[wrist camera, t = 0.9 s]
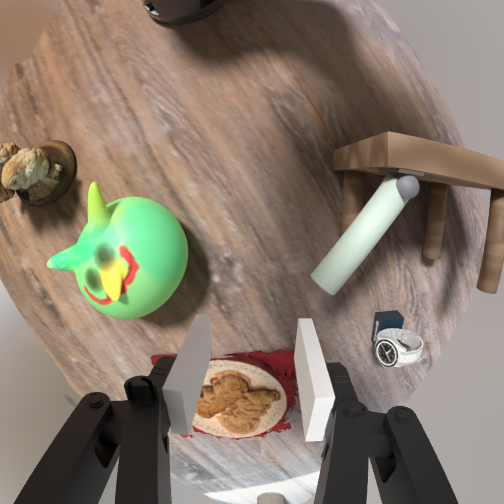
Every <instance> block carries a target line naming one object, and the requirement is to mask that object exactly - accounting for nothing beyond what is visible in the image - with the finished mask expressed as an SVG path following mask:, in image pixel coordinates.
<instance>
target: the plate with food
mask: <svg viewBox="0 0 504 504" xmlns="http://www.w3.org/2000/svg"><path fill="white" fill-rule="evenodd" d="M294 353H295V351H282V350H280V349H279V350H278V351H276V352H273V353H263V352H262V351H261V350H260V351H256V352H255V351H254V352H250V353H234V354H226V353H223V354H222V353H220V354H219V355H232V356H234V357H229V358H221V359H219V358H215V359H210V362H209V366H208V369H207V373H206V376H205V380H204V384H203V387H202V391H201V394H200V398H199V401H198V405H197V408H196V412H195V416H194V419H193V423H192V426H193V429H194V431H195V432H201V433H204V434H211V435H212V436H213V435H214V436H215V437H216V436H217V438H221V436H224V437H229V438H230V439H232V438H233V439H236V440H239V439H241V438H243V437H244V438H251V437H252V436H254V437H256V436H260V437H266V436H263V435H266V434H267V433H270V432H271V431H276V432H278V433H280V432H279V431H278V430H283V429H285V430H286V429H291V426H290V423H289V422H288V423H287V424H283V423H284V422H285V421H286V420H285V415H286V412H287V411H288V409H289V406H290V407H293V405H295V398H294V395H296V394H295V392H294V391H293V390H296V391H297V390H298V389H297V388H296V387H295V386H294V381H293V380H296V379H297V376H296V369H295V362H294ZM164 355H165V354H161V355H153V356H152V357H151V358H150V359H151V360H152V364H153V365H155V363H156V361H157V360H158V359H160V358H161V357H162V356H164ZM165 356H173V357H177V355H175V354H174V355H173V354H170V355H169V354H168V355H167V354H166V355H165ZM285 372H286V373H287V374H288V376H287V377H288V378H287V377H286V376H285ZM290 377H291V379H292V380H291V379H289V378H290ZM297 397H298V395H297ZM290 404H291V405H292V406H291V405H290ZM292 410H293V408H292V409H291V411H292ZM287 419H289V418H287ZM280 424H282V425H280ZM276 425H278V426H276ZM273 427H274V428H273ZM272 428H273V429H272ZM271 429H272V430H271ZM268 430H271V431H269V432H267V431H268ZM281 432H282V431H281ZM191 433H192V432H191ZM260 434H261V435H260ZM180 435H181V434H180ZM192 435H193V434H192ZM192 435H189V436H190V437H191V438H192ZM181 436H182V437H184V438H185V437H189V436H188V435H181ZM218 436H219V437H218ZM279 436H280V435H279ZM194 437H195V436H194Z"/></svg>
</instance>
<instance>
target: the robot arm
mask: <svg viewBox="0 0 504 504" xmlns="http://www.w3.org/2000/svg"><path fill="white" fill-rule="evenodd" d="M225 1H226V0H142V3H143V6H144V8H145V9H146V11H147V12H148V13H149V15H150V16H151V17H152V18H154V19H155V20H157V21H159V22H163V23H167V24H182V23H188V22H192V21H196V20H199V19H201V18H203V17H206V16H208V15H209V14H211V13H213V12H214V11H216V10H217V9H218V8H219V7H220V6H222V4H223V3H224V2H225ZM211 355H212V350H211V326H210V315H206V314H197V315H196V317H195V319H194V321H193V323H192V325H191V327H190V330H189V332H188V334H187V336H186V338H185V340H184V342H183V345H182V347H181V349H180V351H179V353H178V355H177V357H173V356H165V355H164V356H162V357H161V358H160V359H158V360H157V361H156V363H155V365H154V367H153V369H152V370H151V373H150V374H149V376H135V377H132V378H130V379H128V380H127V381H126V382H125V384H124V388H125V392H126V395H127V398H128V400H124V401H110V399H109V397H108V396H107V395H106V394H104V393H102V392H93V393H89V394H87V395H85V396H84V397H83V398H82V400H81V401H80V402H79V404H78V405H77V407H76V408H75V410H74V411H73V412H72V414H71V415H70V417H69V418H68V420H67V421H66V422H65V424H64V425H63V427H62V428H61V430H60V431H59V433H58V434H57V436H56V437H55V439H54V440H53V442H52V443H51V445H50V446H49V448H48V449H47V451H46V452H45V454H44V455H43V457H42V459H41V460H40V462H39V463H38V465H37V466H36V468H35V469H34V471H33V473H32V474H31V476H30V477H29V479H28V480H27V482H26V484H25V485H24V487H23V489H22V490H21V492H20V494H19V495H18V497H17V499H16V501H15V502H14V504H98V502H99V500H100V498H101V496H102V493H103V491H104V489H105V486H106V484H107V482H108V479H109V477H110V475H111V473H112V470H113V468H114V466H115V464H116V461H117V459H118V457H119V464H118V473H117V483H116V494H115V504H172V502H171V484H170V459H169V437H168V434H167V433H168V431H169V428H170V427H171V431H172V433H175V434H181V435H188V436H189V434H190V430H191V426H192V423H193V419H194V416H195V412H196V408H197V405H198V401H199V398H200V394H201V391H202V387H203V384H204V380H205V376H206V373H207V369H208V366H209V362H210V359H211ZM294 362H295V369H296V376H297V383H298V390H299V398H300V405H301V413H302V420H303V428H304V436H305V442H306V441H323V438H324V435H325V436H326V444H325V447H324V450H323V453H322V456H321V457H323V459H322V464H321V470H320V475H319V480H318V485H317V490H316V495H315V500H314V504H366V500H367V484H368V459H369V458H370V461H371V464H372V468H373V472H374V475H375V479H376V482H377V486H378V489H379V493H380V497H381V500H382V504H458V502H457V499H456V497H455V495H454V492H453V490H452V488H451V485H450V483H449V481H448V479H447V477H446V475H445V472H444V470H443V468H442V466H441V464H440V462H439V460H438V457H437V455H436V453H435V451H434V449H433V447H432V445H431V443H430V441H429V439H428V437H427V435H426V433H425V431H424V429H423V427H422V425H421V423H420V421H419V419H418V418H417V416H416V414H415V413H414V411H413V410H411V409H410V408H408V407H404V406H395V407H392V408H391V409H390V410H388V413H387V414H384V413H376V412H371V411H368V409H367V407H366V406H365V405H364V404H362V403H361V402H359V401H358V399H357V396H356V393H355V391H354V388H353V385H352V383H351V380H350V377H349V375H348V372H347V369H346V368H345V367H344V366H343V365H342V364H341V363H340V362H338V363H325V360H324V357H323V354H322V350H321V347H320V344H319V340H318V337H317V334H316V331H315V327H314V324H313V321H312V319H307V318H298V327H297V336H296V345H295V353H294ZM119 455H120V456H119Z"/></svg>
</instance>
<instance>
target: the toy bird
mask: <svg viewBox="0 0 504 504" xmlns="http://www.w3.org/2000/svg"><path fill="white" fill-rule="evenodd" d="M187 261H188V245H187V240H186V236H185V234H184V231H183V229H182V227H181V225H180V223H179V222H178V220H177V219H176V218H175V216H174V215H173V214H172V213H171V212H170V211H169V210H168V209H166V208H165V207H164V206H162V205H161V204H159V203H157V202H155V201H153V200H150V199H147V198H143V197H126V198H122V199H119V200H116V201H114V202H112V203H110V204H108V205H106V203H105V201H104V198H103V196H102V193H101V191H100V188H99V186H98V185H97V183H96V182H93V183H92V184H91V185H90V188H89V193H88V223H87V225H86V226H85V228H84V229H83V231H82V233H81V235H80V237H79V240H78V242H77V243H76V244H75V245H73V246H71V247H70V248H68V249H66V250H64V251H62V252H60V253H58V254H56V255H55V256H53V257H52V258H51V259H49V261H48V263H47V266H48V268H50V269H53V270H61V271H70V272H74V273H75V275H76V279H77V282H78V285H79V287H80V289H81V291H82V293H83V295H84V296H85V298H86V299H87V300H88V301H89V303H90V304H91V305H92V306H94V307H95V308H96V309H97V310H99V311H100V312H102V313H104V314H106V315H108V316H110V317H113V318H117V319H135V318H139V317H142V316H145V315H147V314H149V313H151V312H153V311H155V310H156V309H158V308H159V307H160V306H161V305H163V304H164V303H165V302H166V301H167V300H168V299H169V298H170V297H171V295H172V294H173V293H174V292H175V290H176V289H177V287H178V286H179V284H180V282H181V280H182V278H183V276H184V273H185V270H186V266H187Z"/></svg>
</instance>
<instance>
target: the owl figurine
mask: <svg viewBox="0 0 504 504" xmlns="http://www.w3.org/2000/svg"><path fill="white" fill-rule="evenodd" d="M75 171H76V160H75V155H74V152H73V150H72V149H71V147H70V146H69V145H68V144H66V143H64V142H62V141H58V140H51V141H45V142H42V143H40V144H38V145H36V146H34V147H33V148H24V149H22V150H21V149H20V148H18V146H16V145H15V143H14V142H11V143H5V144H0V203H2V202H3V201H7V200H9V199H10V198H13V196H14V194H15V190H16V193H17V195H18V196H19V197H20V199H21V200H22V201H23V202H25V203H26V204H28V205H31V206H43V205H47V204H49V203H52V202H54V201H55V200H57V199H58V198H60V197H61V196H62V195H63V194H64V192H66V190H67V189H68V187H69V186H70V184H71V181H72V178H73V177H74V175H75ZM32 203H33V204H32Z"/></svg>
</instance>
